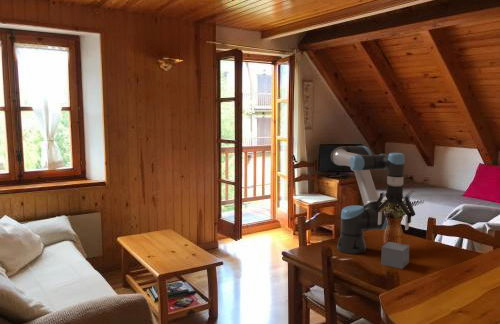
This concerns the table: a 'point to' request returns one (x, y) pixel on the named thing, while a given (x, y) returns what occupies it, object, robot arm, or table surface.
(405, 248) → the dark grey block
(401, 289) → the table surface
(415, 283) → the table surface
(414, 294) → the table surface
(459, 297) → the table surface
